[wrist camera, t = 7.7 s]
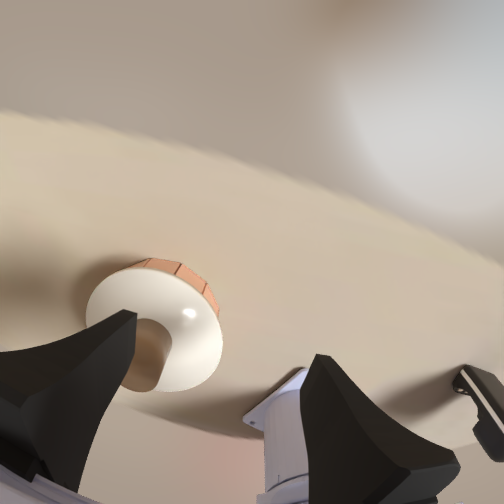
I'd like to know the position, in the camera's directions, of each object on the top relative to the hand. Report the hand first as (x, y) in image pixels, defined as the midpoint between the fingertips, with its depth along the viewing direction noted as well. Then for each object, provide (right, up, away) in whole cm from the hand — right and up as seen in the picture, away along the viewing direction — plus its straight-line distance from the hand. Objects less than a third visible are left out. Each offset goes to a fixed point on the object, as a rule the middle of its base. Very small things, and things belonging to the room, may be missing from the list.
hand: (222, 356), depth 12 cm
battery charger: (+24, -10, +13) cm, 29 cm away
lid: (-5, -1, +7) cm, 9 cm away
